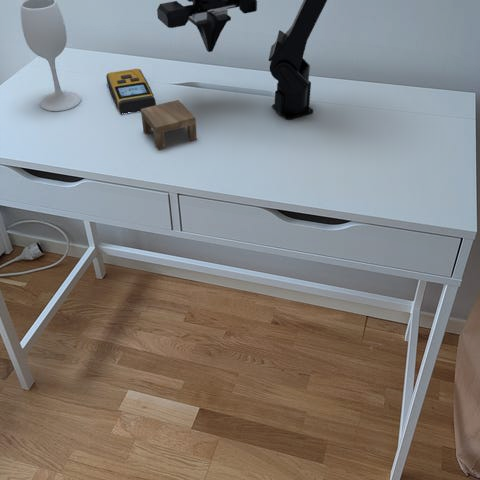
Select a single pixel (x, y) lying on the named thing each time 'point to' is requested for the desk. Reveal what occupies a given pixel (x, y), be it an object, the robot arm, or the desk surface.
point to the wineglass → (47, 46)
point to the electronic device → (130, 90)
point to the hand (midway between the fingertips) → (209, 51)
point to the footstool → (168, 120)
